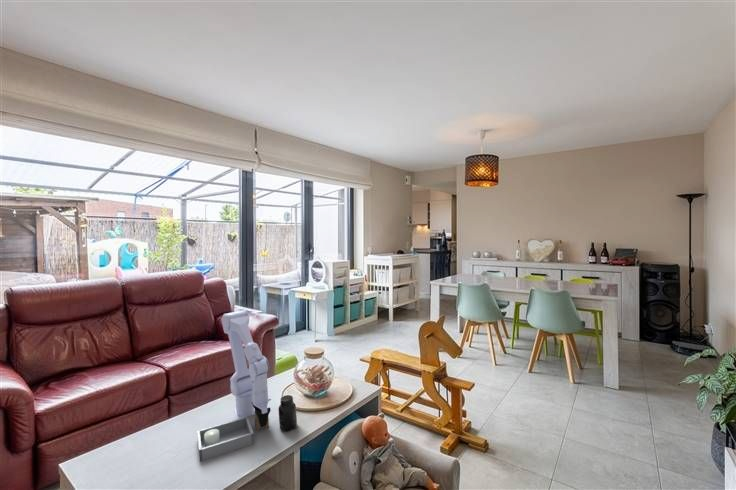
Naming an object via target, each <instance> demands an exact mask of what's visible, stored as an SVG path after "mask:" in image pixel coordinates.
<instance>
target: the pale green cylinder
mask: <svg viewBox="0 0 736 490" xmlns="http://www.w3.org/2000/svg"><path fill="white" fill-rule="evenodd" d="M204 441H205V447H207V446H211V445H214V444H217V443H220V437H219V430H218V429H212V430H209V431H207V432H206V433H205V434H204Z"/></svg>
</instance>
